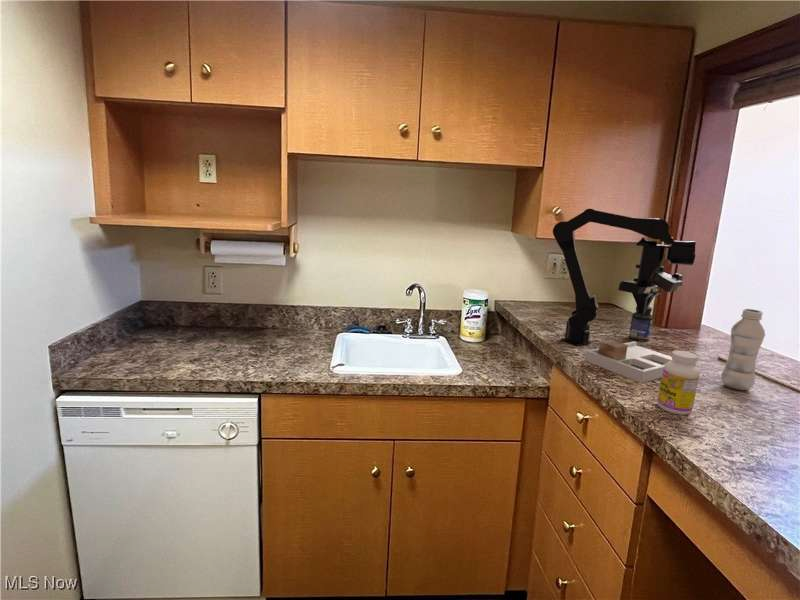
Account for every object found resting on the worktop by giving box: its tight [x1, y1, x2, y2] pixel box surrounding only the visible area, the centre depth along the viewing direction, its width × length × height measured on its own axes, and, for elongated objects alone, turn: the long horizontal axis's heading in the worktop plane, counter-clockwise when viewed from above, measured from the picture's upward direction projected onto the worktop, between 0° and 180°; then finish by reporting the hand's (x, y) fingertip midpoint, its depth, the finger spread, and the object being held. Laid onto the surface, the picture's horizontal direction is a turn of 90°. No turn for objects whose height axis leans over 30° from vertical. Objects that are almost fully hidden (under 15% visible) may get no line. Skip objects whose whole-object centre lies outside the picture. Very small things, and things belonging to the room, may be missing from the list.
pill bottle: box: [628, 305, 654, 342], centre depth 148 cm, size 6×6×11 cm
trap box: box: [584, 340, 672, 384], centre depth 124 cm, size 17×22×3 cm
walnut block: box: [598, 339, 628, 361], centre depth 123 cm, size 5×5×4 cm
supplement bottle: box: [656, 349, 701, 416], centre depth 97 cm, size 7×7×13 cm
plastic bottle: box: [720, 308, 766, 391], centre depth 109 cm, size 6×7×20 cm
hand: (641, 313), depth 133 cm, fingers closed
